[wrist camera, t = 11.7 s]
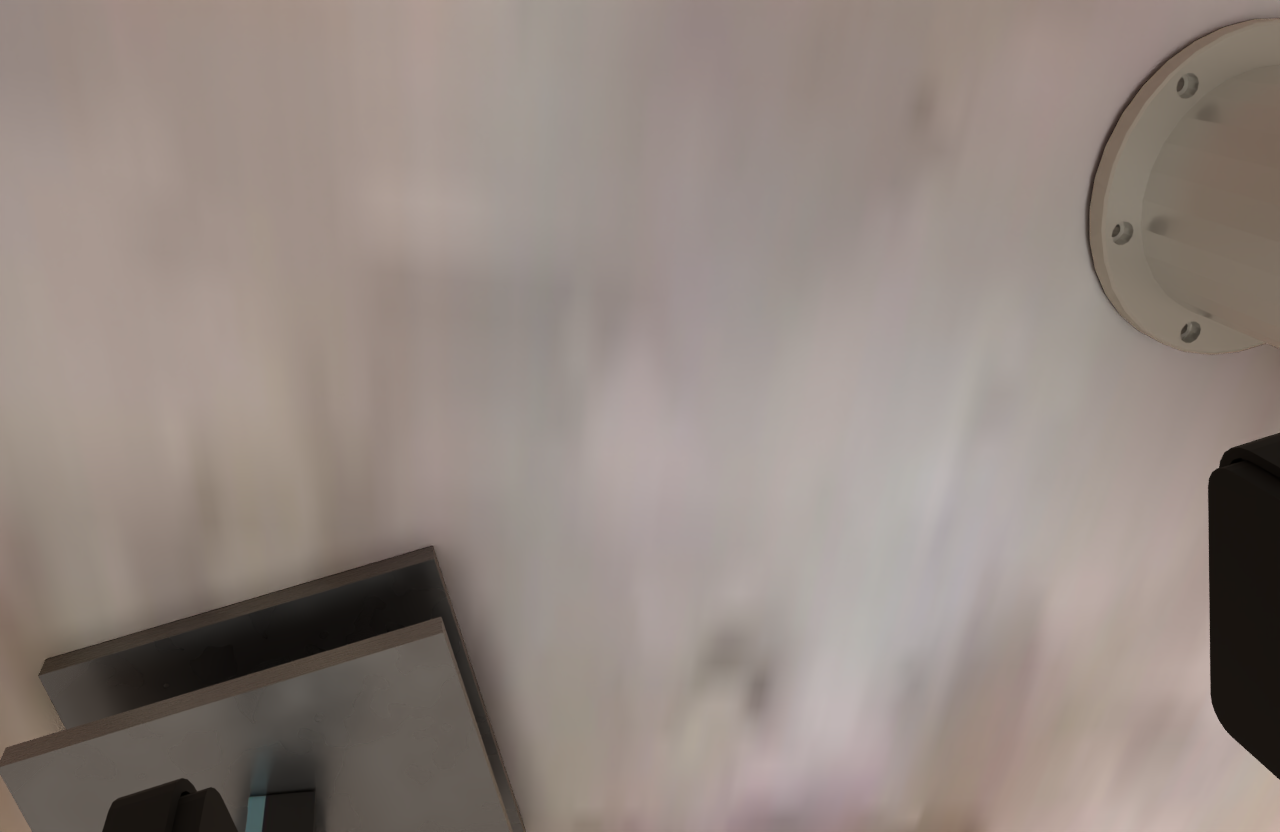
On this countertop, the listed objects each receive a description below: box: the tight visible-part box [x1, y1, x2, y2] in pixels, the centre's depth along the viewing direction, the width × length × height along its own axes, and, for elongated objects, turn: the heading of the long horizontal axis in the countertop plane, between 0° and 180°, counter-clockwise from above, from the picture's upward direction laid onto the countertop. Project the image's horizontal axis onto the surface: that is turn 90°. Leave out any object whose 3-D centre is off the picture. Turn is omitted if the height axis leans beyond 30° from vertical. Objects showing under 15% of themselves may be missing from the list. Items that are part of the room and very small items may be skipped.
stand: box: [0, 546, 526, 832], centre depth 42 cm, size 14×14×6 cm
